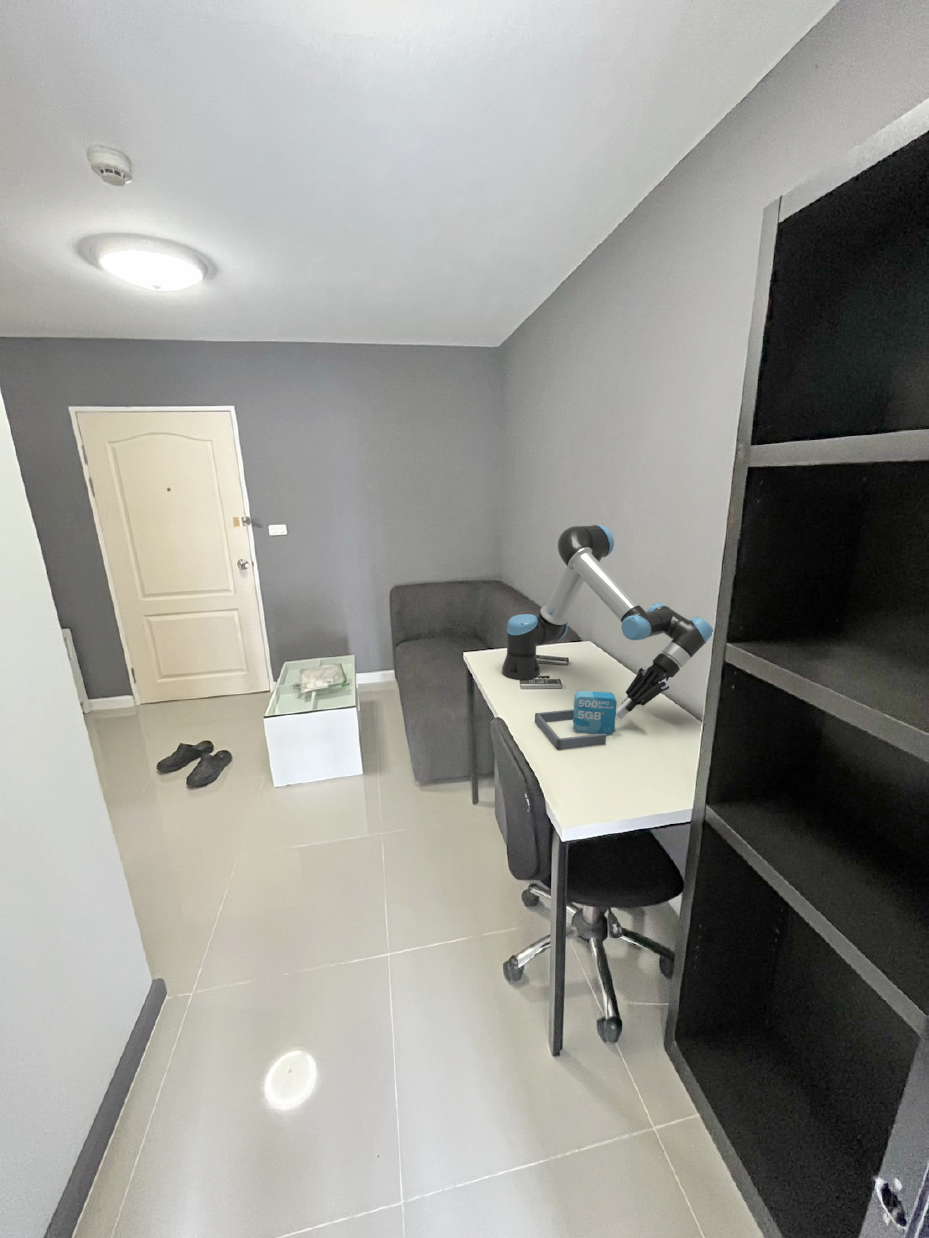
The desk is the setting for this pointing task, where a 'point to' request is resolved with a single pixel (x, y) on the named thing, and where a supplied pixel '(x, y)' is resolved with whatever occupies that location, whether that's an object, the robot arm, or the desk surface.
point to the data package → (594, 712)
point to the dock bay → (571, 741)
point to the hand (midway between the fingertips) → (617, 716)
